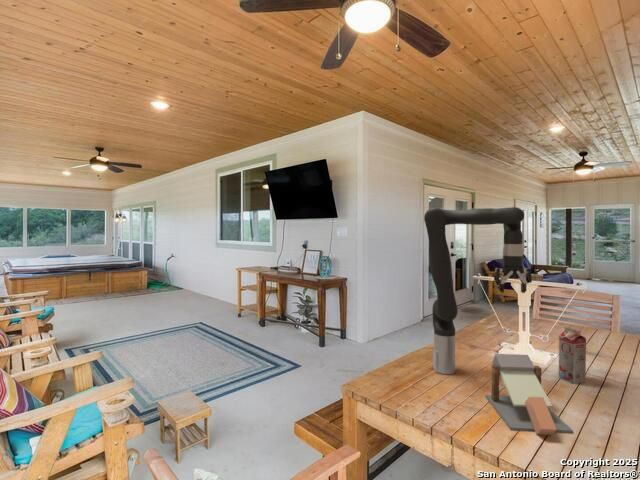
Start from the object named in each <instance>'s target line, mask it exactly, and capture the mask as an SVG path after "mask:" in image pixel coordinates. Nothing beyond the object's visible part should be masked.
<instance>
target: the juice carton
mask: <svg viewBox="0 0 640 480" xmlns="http://www.w3.org/2000/svg"><path fill="white" fill-rule="evenodd" d="M586 354H587V338H586V337H584V336H583V335H581V331H580V330H577V329H573V328H570V327H566V326H564V331H562V332H561V333H560V334H559V335H558V378H559V379H561V380H564V381H566V382H568V383H571V384H579V383H580V384H581V383H586V369H587V367H586V366H587V363H586V362H587V361H586V360H587V358H586V357H587V356H586Z"/></svg>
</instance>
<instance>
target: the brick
mask: <svg viewBox="0 0 640 480" xmlns="http://www.w3.org/2000/svg"><path fill="white" fill-rule="evenodd" d="M525 405H526V408H527V410H528V413H529V416H530V419H531V421H532V424H533V427H534V430H535V431H534V432H535V435H541V436H552V435H553V434H554V433H556V432H555V431H556V430H557V429H556V427H555V424H554V422H553V420H552V417H551V415H550V412H549V410H548V407H547V405H546V403H545V400H544V398H543V397H528V399H527V400H526V401H525Z"/></svg>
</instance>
